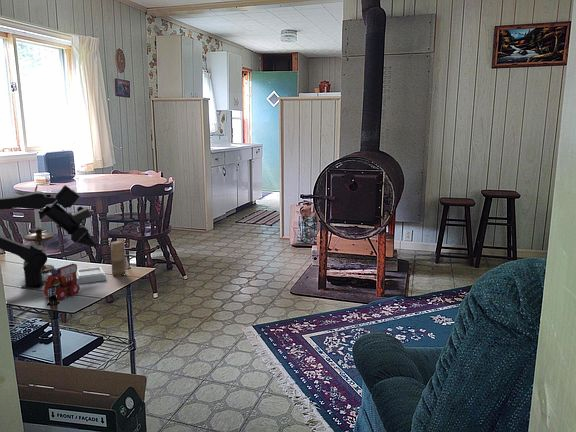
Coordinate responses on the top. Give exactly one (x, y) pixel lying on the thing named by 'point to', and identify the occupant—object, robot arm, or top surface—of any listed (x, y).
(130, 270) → the top surface
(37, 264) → the robot arm
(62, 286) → the toy fire truck
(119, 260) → the walnut pillar
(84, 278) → the base plate
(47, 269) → the candlestick
